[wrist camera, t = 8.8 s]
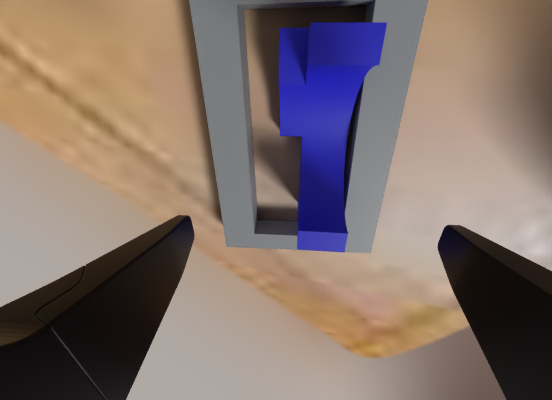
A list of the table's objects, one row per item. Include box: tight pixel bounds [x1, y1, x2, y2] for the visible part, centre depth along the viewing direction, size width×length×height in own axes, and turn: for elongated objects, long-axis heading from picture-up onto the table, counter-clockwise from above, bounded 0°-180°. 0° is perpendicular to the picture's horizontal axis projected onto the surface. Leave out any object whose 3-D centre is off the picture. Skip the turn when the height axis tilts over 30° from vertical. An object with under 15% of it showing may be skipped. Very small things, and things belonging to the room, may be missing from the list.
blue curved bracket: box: [279, 22, 387, 252], centre depth 16 cm, size 12×4×6 cm, turn 0°
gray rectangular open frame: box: [189, 0, 428, 253], centre depth 18 cm, size 12×18×2 cm, turn 1°
